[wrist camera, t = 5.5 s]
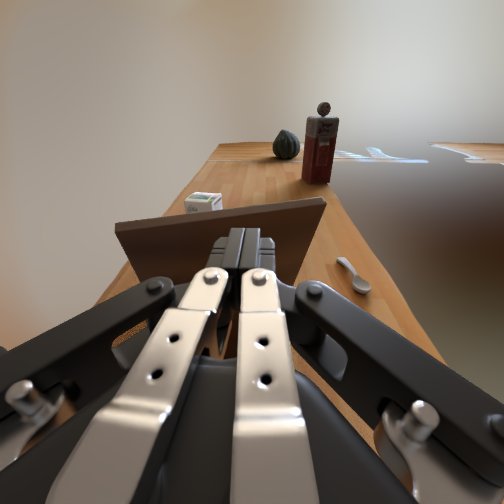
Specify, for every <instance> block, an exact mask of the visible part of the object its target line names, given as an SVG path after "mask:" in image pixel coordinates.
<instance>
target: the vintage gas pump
mask: <svg viewBox="0 0 504 504" xmlns="http://www.w3.org/2000/svg"><path fill="white" fill-rule="evenodd" d="M330 109H331V107H330V104H329V103H327V102H322V103H320V104H319V106H318V108H317V112H318V114H319V115H321V116H310V117H308V118H307V124H306V135H305V145H304V156H303V167H302V179H303V180H304V181H306V182H307V183H308V184H319V183H329V182H330V177H331V170H332V164H333V157H334V151H335V144H336V137H337V131H338V125H339V118H337V117H331V116H326V115H327V114H328V113H329V112H330Z"/></svg>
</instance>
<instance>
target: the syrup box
mask: <svg viewBox="0 0 504 504" xmlns="http://www.w3.org/2000/svg"><path fill="white" fill-rule="evenodd" d="M184 205H185V211H186V214H191V213H198V212H206V211H214V210H222V198H221V193H218V194H215V193H199V192H195V193H193V194H191V195H190V196H189V197H187V198H186V200H185V201H184Z"/></svg>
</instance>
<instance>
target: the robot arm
mask: <svg viewBox="0 0 504 504" xmlns="http://www.w3.org/2000/svg"><path fill="white" fill-rule="evenodd" d="M240 306H241V312H239V329H238V353H237V357H236V358H231V359H226V360H223V358H224V355H225V351H226V347H227V343H228V339H229V335H230V332H231V328H232V318H233V313H234V311H240ZM144 320H146V323H147V327H146V328H144V329H143V330H141V331H140V332H138V333H136V334H135V335H133V336H132V337H130V338H129V339H127V340H126V341H124V342H122V343H121V344H119V345H118V346H116V347H114V348H111V346H112V343H113V341H114V340H115V339H116V338H117V337H118V336H120V335H121V334H123V333H125V332H126V331H128V330H129V329H131V328H133V327H134V326H136V325H137V324H139V323H141V322H142V321H144ZM290 341H291V345H292V347H293V348H294V349H295V350H296V351H297V352H298V353H299V354H300V356H301V357H302V358H303V359H304V360H305V361H306V362H307V363H308V364H309V365H310V366H311V367H312V368H313V369H314V370H315V371H316V372H317V373H318V374H319V375H320V376H321V377H322V378H323V379H324V380H325V381H326V382H327V383H328V384H329V385H330V386H331V387H332V388H333V390H334V391H335V392H336V393H337V394H338V395H339V396H340V397H341V398H342V399H343V400H344V401H345V402H346V403H347V404H348V405H349V406H350V407H351V408H352V409H353V410H354V411H355V412H356V413H357V414H358V415H359V416H360V417H361V418H362V419H363V420H364V421H365V422H366V423H367V425H368V426H369V427H370V428H371V429H372V430H373V431H374V434H373V439H374V444H375V448H376V450H377V452H378V454H379V456H380V457H379V456H378V455H377V454H376V453H375V452H374V450H373V449H372V448H371V447H370V446H369V445H368V444H367V442H366V441H365V440H364V439H363V438H362V437H361V436H360V434H359V433H358V432H357V431H356V430H355V429H354V427H353V426H352V425H351V424H350V423H349V422H348V421H347V419H346V418H345V417H344V416H343V415H342V414H341V413H340V411H339V410H338V409H337V408H336V407H335V406H334V405H333V403H332V402H331V401H330V400H329V399H328V398H327V396H326V395H325V394H324V393H323V392H322V391H321V390H320V389H319V387H318V386H317V385H316V384H315V383H313V382H312V381H311V380H310V379H309V378H307V377H306V376H305V375H303V374H302V373H300V372H298V371H296V370H294V365H293V359H292V353H291V347H290ZM381 459H382V460H381ZM503 499H504V405H503V404H502V403H500V402H499V401H498V400H496V399H494V398H493V397H492V396H490V395H489V394H487V393H485V392H484V391H483V390H481V389H480V388H478V387H477V386H475V385H474V384H472V383H471V382H469V381H468V380H466V379H465V378H464V377H462V376H461V375H459V374H457V373H456V372H455V371H453V370H452V369H450V368H449V367H447V366H446V365H444V364H443V363H441V362H440V361H438V360H437V359H435V358H434V357H432V356H431V355H429V354H428V353H427V352H425V351H424V350H422V349H421V348H419V347H418V346H416V345H415V344H413V343H412V342H410V341H409V340H407V339H406V338H404V337H403V336H401V335H400V334H398V333H397V332H395V331H394V330H392V329H391V328H390V327H388V326H387V325H385V324H384V323H382V322H381V321H379V320H378V319H376V318H375V317H373V316H372V315H370V314H369V313H367V312H366V311H364V310H363V309H361V308H360V307H358V306H357V305H355V304H354V303H353V302H351V301H350V300H348V299H347V298H345V297H344V296H342V295H341V294H339V293H338V292H336V291H335V290H333V289H332V288H330V287H329V286H327V285H326V284H324V283H321V282H318V281H305V282H302V283H300V284H299V285H298V286H297V287H292V286H288V285H286V284H284V283H282V282H281V281H279V280H278V278H277V277H276V272H275V243H274V242H273V240H272V239H271V238H260V228H246V229H245V228H231V230H230V233H229V236H228V237H220V238H219V239H218V240H217V241H216V242H215V243H214V246H213V249H212V251H211V254H210V256H209V259H208V262H207V264H206V267H205V269H202V270H200V271H199V272H197V273H196V275H195V276H194V278H193V280H192V282H189V283H185V284H180V285H175V286H174V285H173V281H172V280H171V279H170V278H167V277H162V276H160V277H153V278H150V279H147V280H145V281H143V282H141V283H139V284H137V285H135V286H133V287H132V288H130V289H128V290H126V291H124V292H122V293H120V294H118V295H116V296H114V297H112V298H110V299H108V300H106V301H104V302H102V303H101V304H99V305H97V306H95V307H93V308H91V309H89V310H87V311H85V312H83V313H81V314H79V315H77V316H75V317H74V318H72V319H70V320H68V321H66V322H64V323H62V324H60V325H58V326H56V327H54V328H52V329H50V330H48V331H46V332H45V333H42V334H40V335H39V336H37V337H35V338H33V339H31V340H29V341H27V342H25V343H23V344H21V345H19V346H17V347H15V348H13V349H11V350H9V351H8V352H6V353H4V354H2V355H0V504H501V503H502V501H503Z"/></svg>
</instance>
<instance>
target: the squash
mask: <svg viewBox="0 0 504 504" xmlns="http://www.w3.org/2000/svg"><path fill="white" fill-rule="evenodd" d="M299 151H300V142H299V140H298V138H297V137H296V136H295V135H294V134H292V133H291V132H289V131H286V130H281V131H280V133H279V134H278V136H277V137H276V139H275V141H274V143H273V152H274V154H275V155H276V156H277V157H278V158H283V159H286V158H287V157H291V158H293V157H295V156H297V155H298V153H299Z"/></svg>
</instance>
